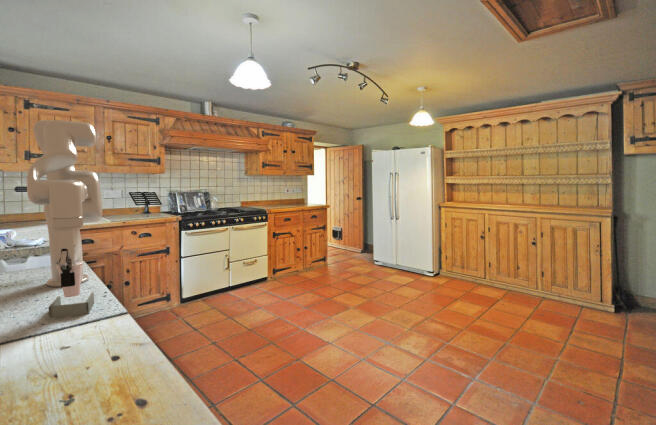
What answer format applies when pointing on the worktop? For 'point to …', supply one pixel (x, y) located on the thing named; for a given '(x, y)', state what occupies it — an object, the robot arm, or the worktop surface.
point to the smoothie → (75, 289)
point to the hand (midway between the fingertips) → (71, 282)
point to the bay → (70, 308)
